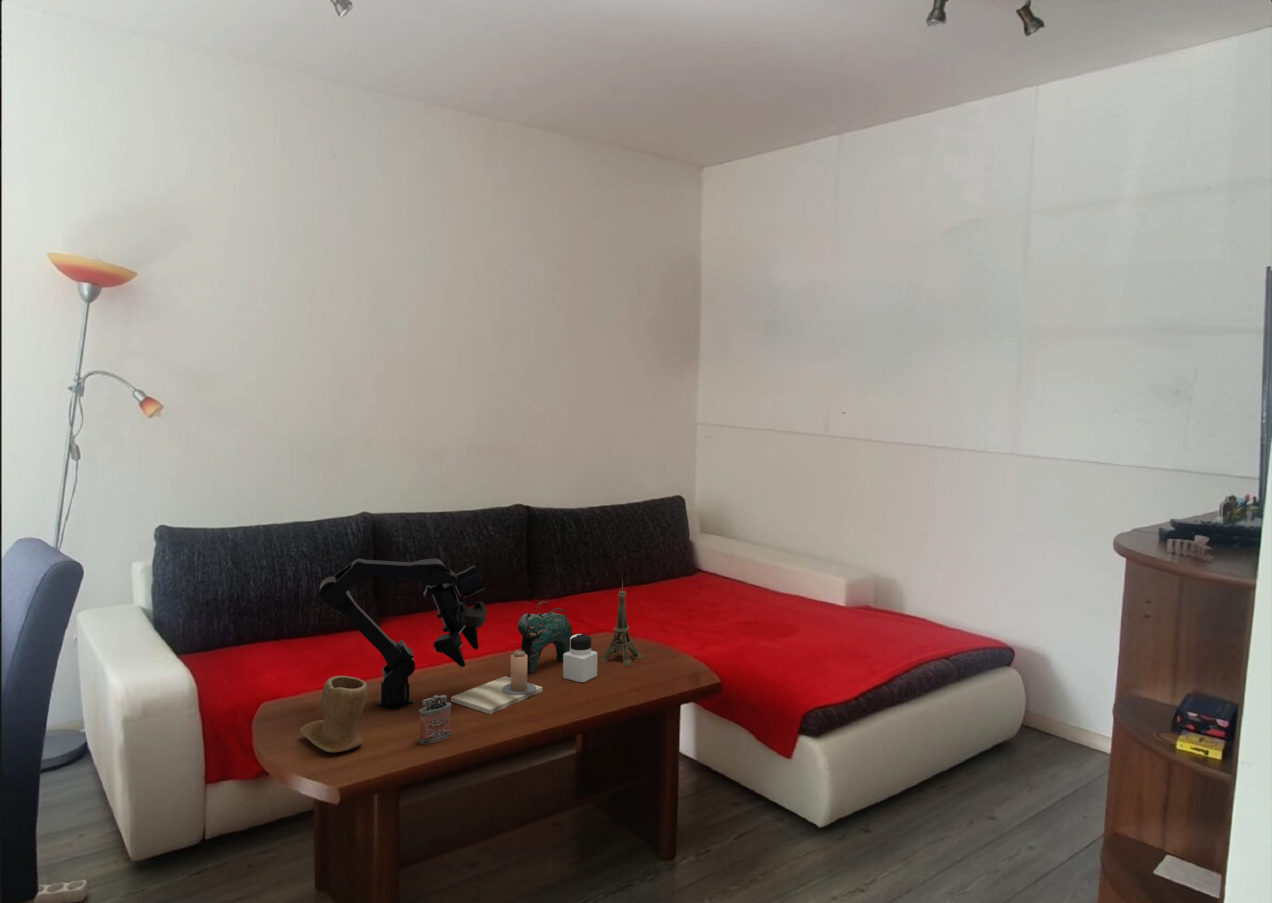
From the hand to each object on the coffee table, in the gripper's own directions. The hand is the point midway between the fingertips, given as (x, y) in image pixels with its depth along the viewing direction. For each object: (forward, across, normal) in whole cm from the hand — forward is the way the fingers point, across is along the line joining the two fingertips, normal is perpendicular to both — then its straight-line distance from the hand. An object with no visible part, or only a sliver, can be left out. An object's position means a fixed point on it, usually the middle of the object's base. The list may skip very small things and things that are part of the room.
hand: (470, 657), depth 223 cm
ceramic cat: (+19, +26, -6) cm, 32 cm away
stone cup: (-2, -35, +19) cm, 40 cm away
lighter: (+6, -28, 0) cm, 29 cm away
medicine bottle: (+22, +19, -18) cm, 34 cm away
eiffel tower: (+28, +37, -25) cm, 52 cm away
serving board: (+12, 0, -3) cm, 13 cm away
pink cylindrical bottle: (+13, +3, -8) cm, 16 cm away
